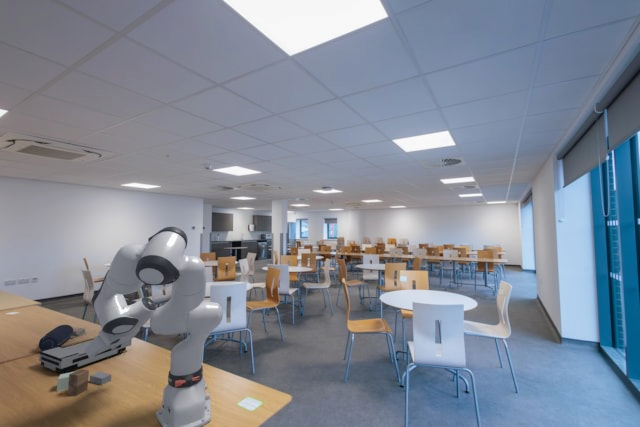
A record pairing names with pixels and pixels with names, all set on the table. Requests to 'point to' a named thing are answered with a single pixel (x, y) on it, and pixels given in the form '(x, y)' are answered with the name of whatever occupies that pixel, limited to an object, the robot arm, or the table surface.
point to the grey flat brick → (100, 378)
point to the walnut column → (78, 382)
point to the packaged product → (78, 332)
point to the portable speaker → (56, 337)
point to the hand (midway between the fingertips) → (102, 352)
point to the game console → (76, 356)
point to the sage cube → (63, 381)
